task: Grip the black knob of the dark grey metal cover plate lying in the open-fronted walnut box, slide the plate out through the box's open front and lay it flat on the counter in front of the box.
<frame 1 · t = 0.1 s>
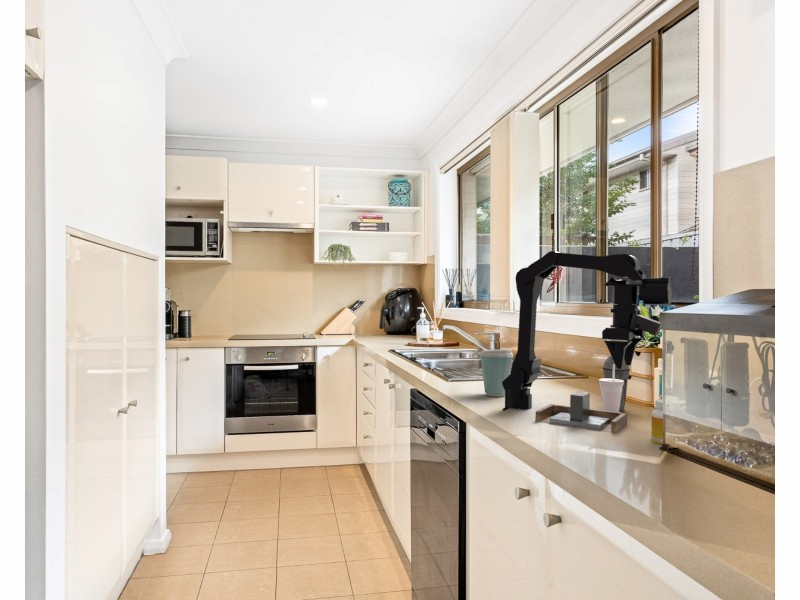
hand: (624, 366, 138), 15 cm above the counter, tool pointing down, fingers open, 9 cm apart
walnut box: (580, 426, 136), on the counter
cover plate: (579, 423, 135), point 1 cm above the counter, touching walnut box
disposable coffee cup: (495, 395, 178), on the counter
beverage cup: (615, 410, 158), on the counter
supplement bottle: (664, 447, 119), on the counter
smoothie: (610, 416, 149), on the counter
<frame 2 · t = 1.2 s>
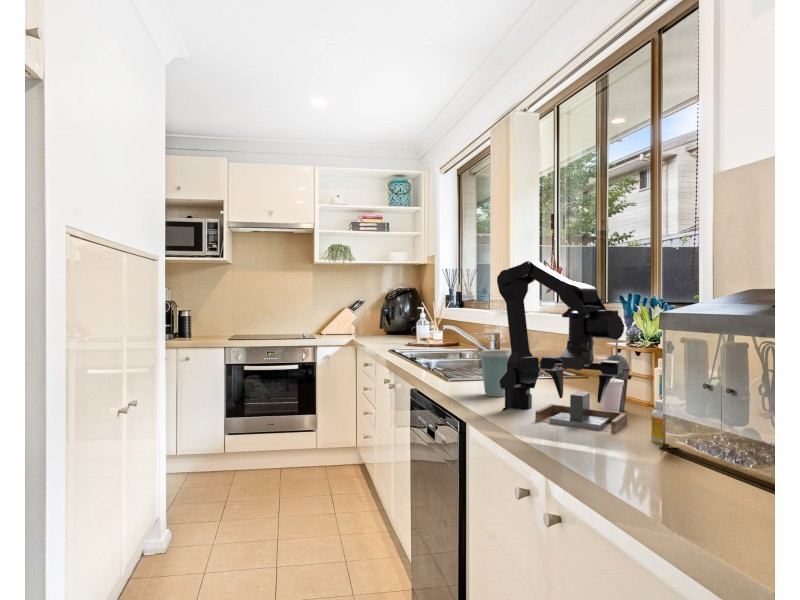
hand: (579, 400, 135), 7 cm above the counter, tool pointing down, fingers open, 9 cm apart
nothing on the counter moved.
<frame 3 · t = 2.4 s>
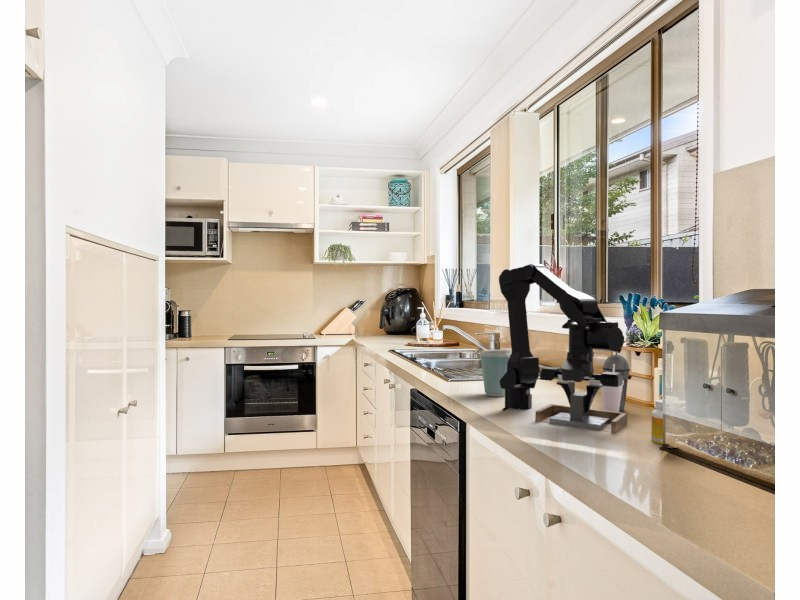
hand: (579, 411, 135), 4 cm above the counter, tool pointing down, fingers closed on cover plate, 3 cm apart
cover plate: (579, 423, 135), point 1 cm above the counter, touching gripper, walnut box
everything else where it was.
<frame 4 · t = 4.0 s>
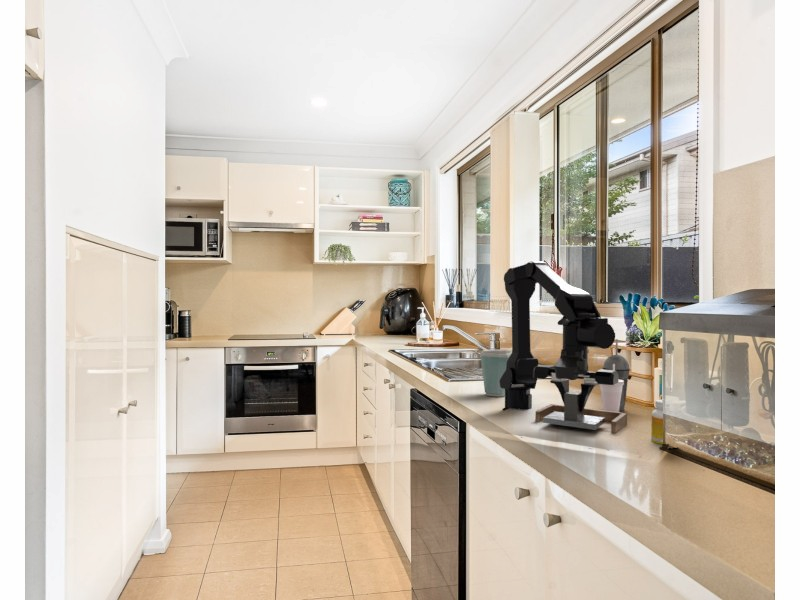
hand: (574, 410, 131), 5 cm above the counter, tool pointing down, fingers closed on cover plate, 3 cm apart
cover plate: (574, 422, 131), point 2 cm above the counter, touching gripper
everything else where it was.
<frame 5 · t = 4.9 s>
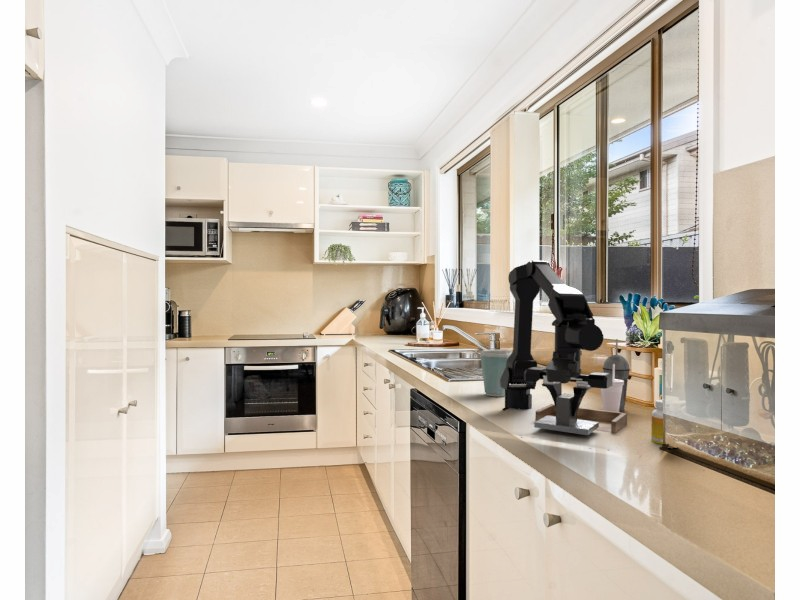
hand: (566, 415, 126), 5 cm above the counter, tool pointing down, fingers closed on cover plate, 3 cm apart
cover plate: (566, 427, 126), point 2 cm above the counter, touching gripper
everything else where it was.
when the fingers open (4 cm above the counter, at t = 5.7 s): cover plate drops 1 cm, on the counter.
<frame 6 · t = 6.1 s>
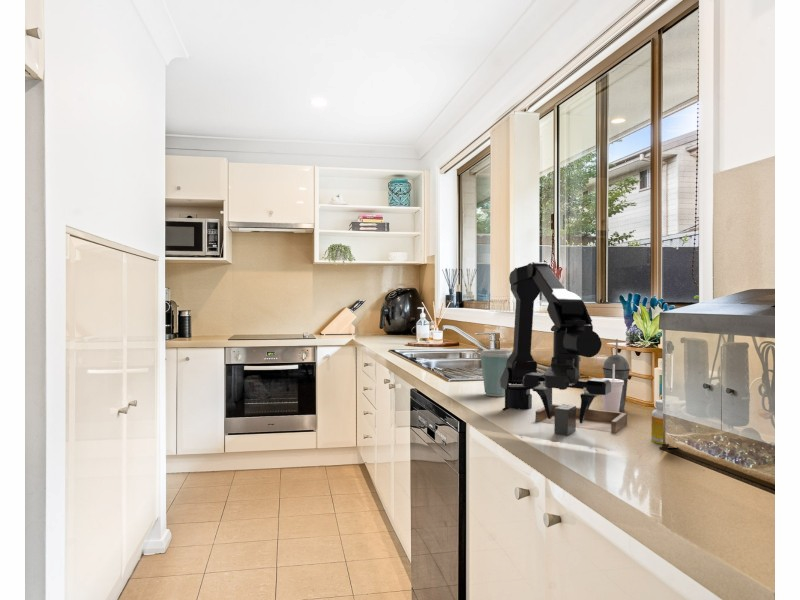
hand: (565, 420, 126), 4 cm above the counter, tool pointing down, fingers open, 7 cm apart
cover plate: (565, 438, 126), on the counter
everything else where it was.
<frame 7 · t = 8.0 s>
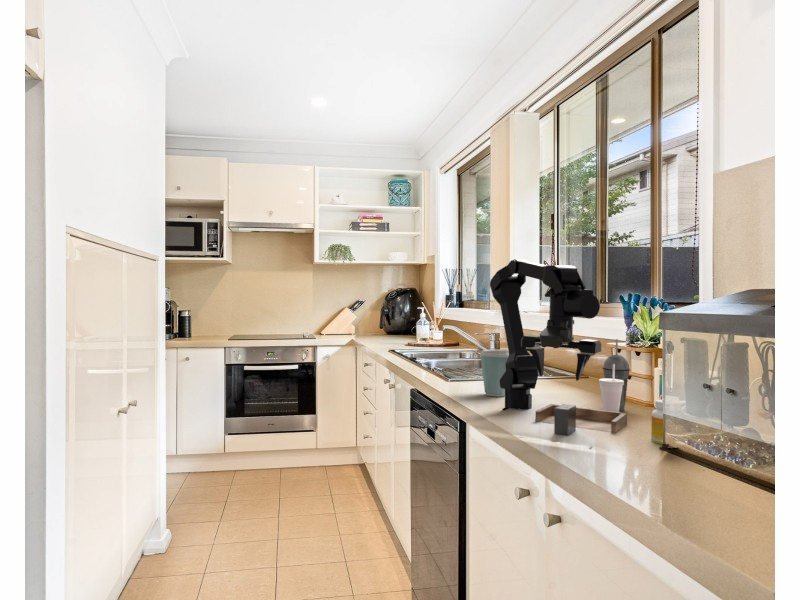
hand: (559, 378, 138), 12 cm above the counter, tool pointing down, fingers open, 9 cm apart
nothing on the counter moved.
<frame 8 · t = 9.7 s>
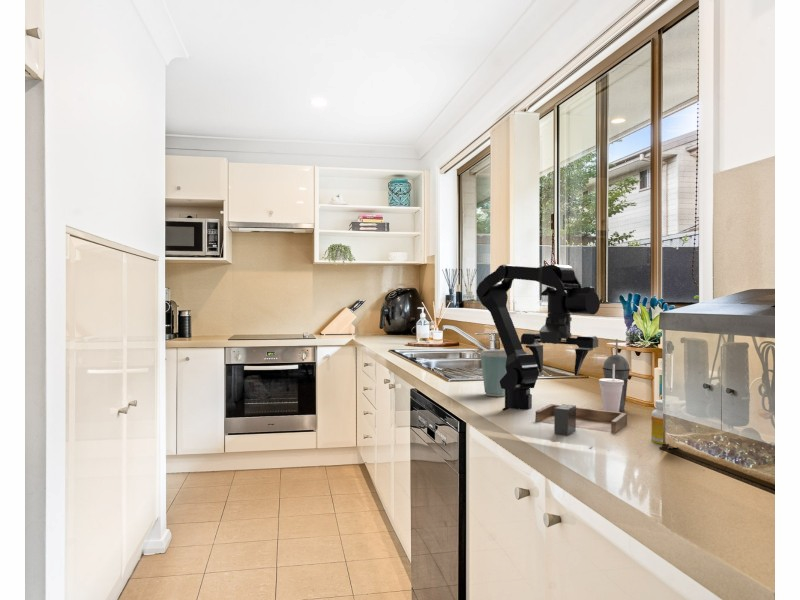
hand: (558, 373, 143), 12 cm above the counter, tool pointing down, fingers open, 9 cm apart
nothing on the counter moved.
at the end: cover plate inside the target area (1.4 cm from its centre), on the counter; cover plate tilted 0°; the gripper is holding nothing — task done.
